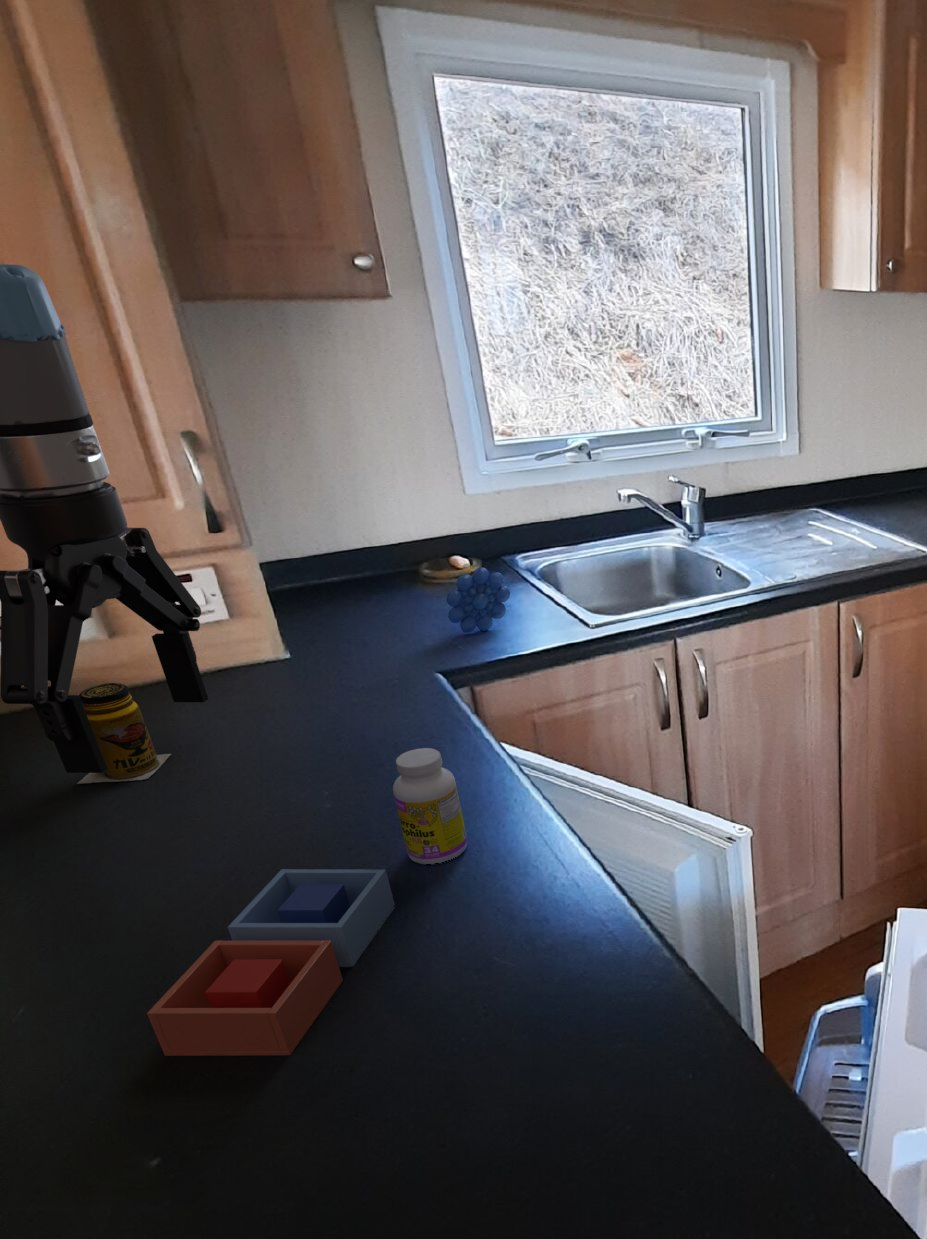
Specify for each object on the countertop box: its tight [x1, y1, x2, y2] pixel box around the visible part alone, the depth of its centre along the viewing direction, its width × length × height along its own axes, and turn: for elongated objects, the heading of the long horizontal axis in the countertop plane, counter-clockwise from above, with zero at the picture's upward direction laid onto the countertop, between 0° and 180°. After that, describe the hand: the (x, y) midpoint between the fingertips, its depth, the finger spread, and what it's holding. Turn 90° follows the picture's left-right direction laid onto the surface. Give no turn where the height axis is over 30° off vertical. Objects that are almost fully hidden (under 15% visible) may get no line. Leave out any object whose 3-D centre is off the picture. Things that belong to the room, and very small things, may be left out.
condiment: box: [76, 682, 172, 785], centre depth 130 cm, size 7×8×12 cm
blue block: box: [277, 884, 350, 923], centre depth 100 cm, size 4×4×4 cm
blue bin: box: [227, 868, 396, 968], centre depth 100 cm, size 11×10×5 cm
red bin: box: [146, 939, 344, 1057], centre depth 90 cm, size 11×10×5 cm
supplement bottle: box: [392, 747, 468, 866], centre depth 113 cm, size 7×7×13 cm
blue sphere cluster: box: [446, 567, 511, 633], centre depth 180 cm, size 12×7×12 cm, turn 128°
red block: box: [205, 959, 290, 1008], centre depth 90 cm, size 4×4×4 cm
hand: (143, 733), depth 84 cm, fingers open, 13 cm apart
